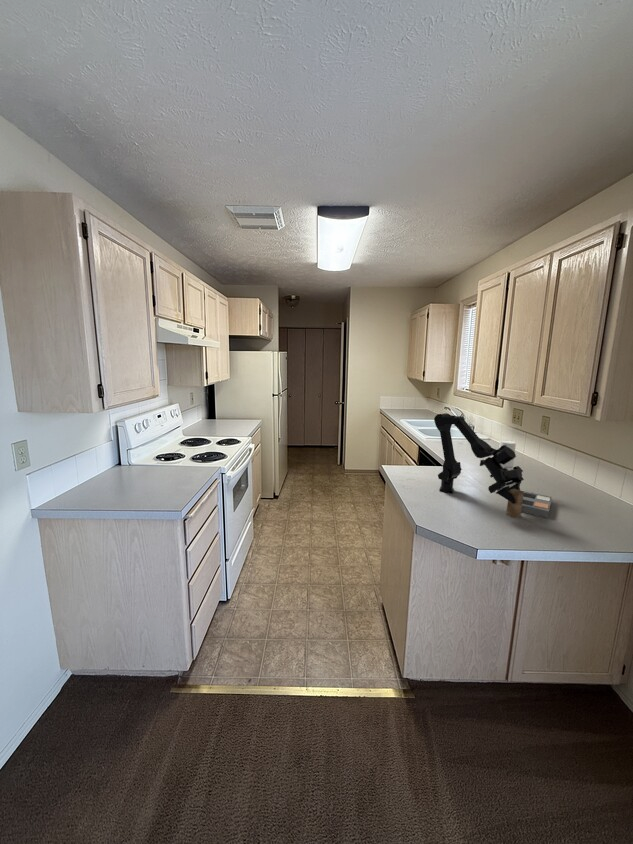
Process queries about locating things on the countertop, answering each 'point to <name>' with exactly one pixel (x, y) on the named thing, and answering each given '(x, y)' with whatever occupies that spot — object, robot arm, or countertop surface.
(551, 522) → the countertop surface
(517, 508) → the brown wooden block
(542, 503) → the socket block
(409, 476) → the countertop surface
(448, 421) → the robot arm
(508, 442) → the cylindrical container
